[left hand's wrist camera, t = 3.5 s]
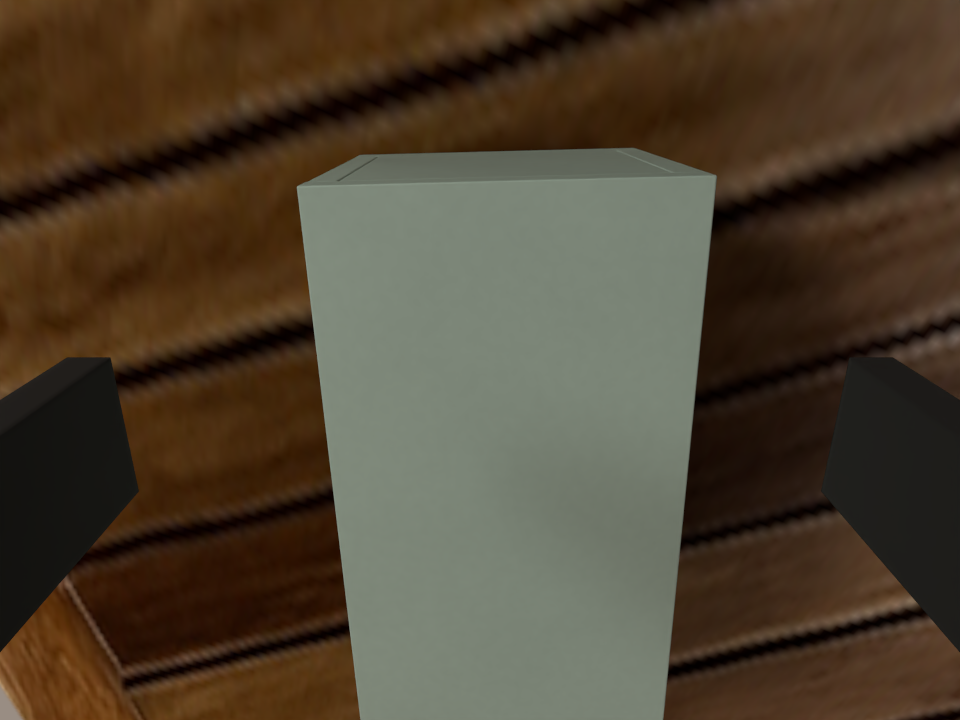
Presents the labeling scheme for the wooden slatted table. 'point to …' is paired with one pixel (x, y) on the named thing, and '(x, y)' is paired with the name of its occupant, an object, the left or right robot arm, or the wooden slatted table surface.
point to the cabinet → (509, 422)
